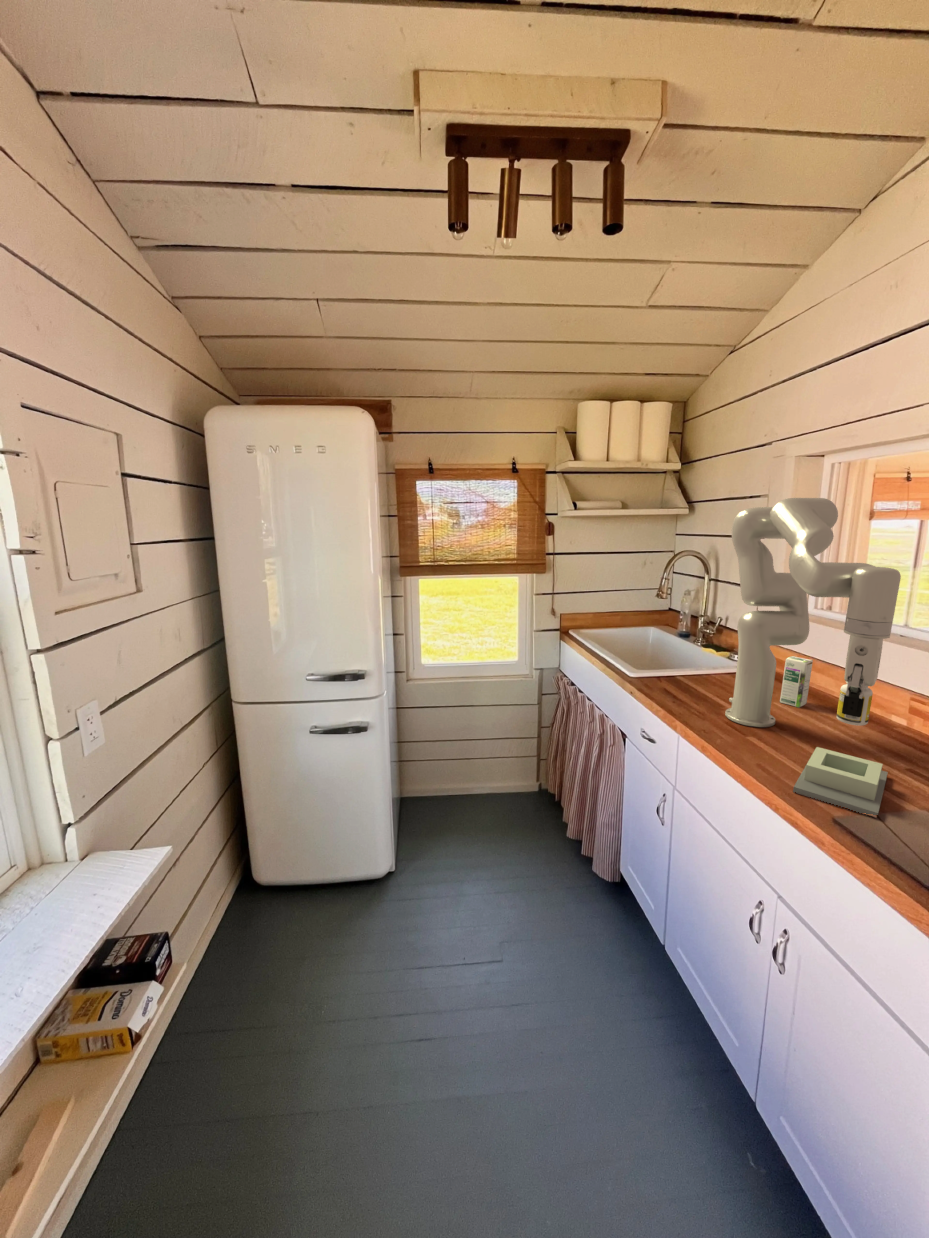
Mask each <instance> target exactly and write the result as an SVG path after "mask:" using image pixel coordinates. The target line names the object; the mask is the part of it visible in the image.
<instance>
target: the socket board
mask: <svg viewBox="0 0 929 1238" xmlns="http://www.w3.org/2000/svg"><path fill="white" fill-rule="evenodd" d="M883 765H884V764H883V763H880V762H877V761H873V760H869V759H866V758H861V757H857V756H853V755H850V754H845V753H842V752H838V751H835V750H830V749H826V748H823V747H819V746H816V747H815V749H814V751H813V752H812V754H811V756H810V758H809V759H808V761H807V763H806V765H805V766H804V768H803V770H802V772H801V773H800V775H799V777H798V779H797V781H796V782H795V783H794V785H793V789H792V792H793V793H795V792H796V793H795V794H798V795H801V796H805V797H808V798H810V797H811V799H814V798H815V800H817V799H818V800H817V801H820V800H821V802H823V801H824V802H823V803H826V802H827V803H826V804H829V803H831V804H830V805H832V804H834V805H833V806H836V805H838V806H837V807H839V806H841V807H840V808H842V807H845V808H848V809H850V810H849V811H851V810H853V811H852V812H854V811H856V812H855V813H858V812H859V813H858V814H861V813H866V814H873V815H878V816H879V813H880V812H879V811H880V807H881V803H882V799H883V795H884V791H885V787H886V783H887V779H888V778H887V776H888V774H889V772H888V771H886V770H882V769H883ZM845 808H844V809H845ZM848 809H847V810H848Z"/></svg>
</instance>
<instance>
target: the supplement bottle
mask: <svg viewBox="0 0 929 1238" xmlns="http://www.w3.org/2000/svg"><path fill="white" fill-rule="evenodd" d="M851 681H852V679H851ZM859 683H863V681H861V680H860V682H859ZM847 686H848V682H846V681H845V684H843V685H841V686H840V691H839V695H838V696H839V697H838V702H837V710H836V711H837V712H836V719H837V721H839V722H842V723H844V724H847V725H852V726H866V725H867V724H868V723H869V719H870V718H869V717H870V714H871V713H870V711H871V708H872V707H871V705H872V701H873V700H872V699H873V694H874V693H873V690H872V689H871V688H869V687H870V686H869V684H866V683H865V688H864V693H863V698H864V703H863V708H862V714H861V717H855V716H851V715H846V714H843V713H842V708H843V702H844V696H845V695H846V691H847ZM859 688H860V689H861V686H859Z"/></svg>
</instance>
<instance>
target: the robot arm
mask: <svg viewBox="0 0 929 1238" xmlns="http://www.w3.org/2000/svg"><path fill="white" fill-rule="evenodd" d="M838 518H839V511H838V507H837V506H836V504H835V503H834V502H833V500H831V499H828V498H825V497H790V498H785V499H782V500H780V501H778V502H777V503H776V504H775V505H774V506H773V507H772V506H771V507H769V506H768V507H767V506H763V507H761V506H760V507H759V506H758V507H750V508H746V509H743V510H741V511H739V512H738V513H737V514H736V516H735V517H734V518H733V522H732V525H731V540H732V544H733V547H734V550H735V553H736V557H737V561H738V574H739V584H740V585H739V586H740V594H741V595H740V596H741V600H742V601H743V603H744V604H746V605H747V606H751V607H779V610H753V611H748V612H746V613H744V614H742V615H741V616H740V617H739V619H738V621H737V639H738V652H737V660H736V662H737V663H736V671H735V672H736V673H735V681H734V687H733V697H729V699H728V701H729V702H730V703H731V707H729V708H727V709H725V711H724V712H725V713H724V714H725V717H726V718H727V719H729V720H730V721H732V722H734V723H736V724H740V725H743V726H746V727H747V726H748V727H752V728H753V727H754V728H769V727H772V726H774V725H776V718H775V716H773V715H771V709H772V699H773V692H774V685H775V680H776V679H775V678H776V671H777V660H776V656H775V655H774V653H773V651H772V650H771V647H770V646H796V645H797V646H798V645H801V644H803V643H805V642H806V640H807V639H808V637H809V634H810V615H809V605H808V595H809V596H812V597H815V598H846V599H847V598H848V604H847V608H846V609H847V610H846V616H845V623H844V627H843V633H844V634H846V635H848V636H849V641H848V644H847V645H848V647H847V651H846V652H847V653H846V658H845V659H846V660H845V670H844V678H843V679H844V681H845V683H846V682H848V686H847V691H846V695H845V696H844V702H843V708H842V713H843V714H846V715H851V716H855V717H861V714H862V708H863V703H864V698H863V693H864V688H865V683H866V684H869V686H868V687H874V685H875V684H876V682H877V680H878V676H879V669H880V665H881V659H882V650H883V645H884V643H883V642H884V639H885V640H886V639H890V638H891V633H892V628H893V623H894V622H893V621H894V617H895V612H896V605H897V602H898V601H897V599H898V594H899V589H900V584H901V578H902V577H901V572H900V571H899V570H897V569H895V568H892V567H883V566H882V567H881V566H875V565H872V564H870V563H866V562H865V563H864V562H832V561H831V562H821V560H819V559H817V558H816V556H818V555H819V554H821V553H823V552H824V551H825V550H827V549H828V548H829V547H830V545H832V543H833V541H834V537H835V536H834V531H833V530H832V528H833V527H834V526H835V525H836V524H837V521H838ZM762 539H769V540H770V539H777V540H778V539H782V540H783V539H784V540H785V542H787V544H788V545H789V546H790V547H791V548H792V549H791V550H790V552H789V558H788V569H789V572H777V571H775V568H774V559H773V554H772V553H771V551H770V549H769V548H768V546H767V545H765V544H764V542H763V541H761V540H762ZM851 679H852V681H851ZM860 680H861V681H863V683H859V682H860ZM859 686H861V689H860V688H859Z"/></svg>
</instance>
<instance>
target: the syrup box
mask: <svg viewBox="0 0 929 1238" xmlns="http://www.w3.org/2000/svg"><path fill="white" fill-rule="evenodd" d="M784 662H785V663H784V671H783V677H782V684H781V691H780V699H779V703H780V704H786V705H788V706H792V707H796V708H797V709H798V708H801V707H803V706H805V705H806V704H807V703H808V702H807V701H808V695H809V688H810V682H811V676H812V675H811V674H812V670H813V663H814V661H813V659H808V658H804V657H798V656H794V655H793V656H789V657H787V658H785V661H784Z"/></svg>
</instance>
